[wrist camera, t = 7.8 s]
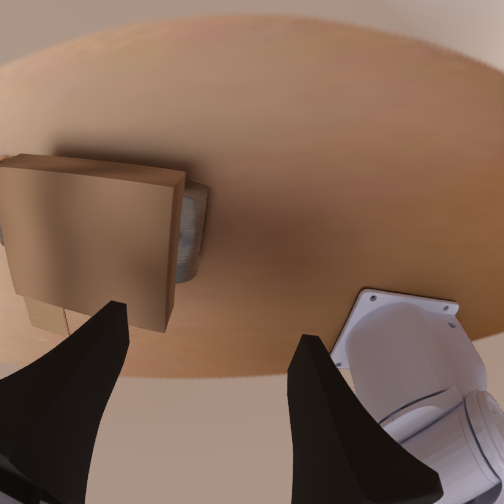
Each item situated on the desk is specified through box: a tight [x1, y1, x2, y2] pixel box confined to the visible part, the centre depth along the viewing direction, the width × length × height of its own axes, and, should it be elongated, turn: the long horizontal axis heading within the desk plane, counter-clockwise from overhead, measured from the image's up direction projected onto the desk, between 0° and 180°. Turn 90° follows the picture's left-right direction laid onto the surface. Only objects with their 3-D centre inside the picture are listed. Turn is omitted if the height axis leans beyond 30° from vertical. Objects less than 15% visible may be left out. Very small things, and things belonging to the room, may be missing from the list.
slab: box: [0, 154, 186, 333], centre depth 15 cm, size 10×8×2 cm
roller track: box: [0, 156, 208, 337], centre depth 20 cm, size 19×16×3 cm
